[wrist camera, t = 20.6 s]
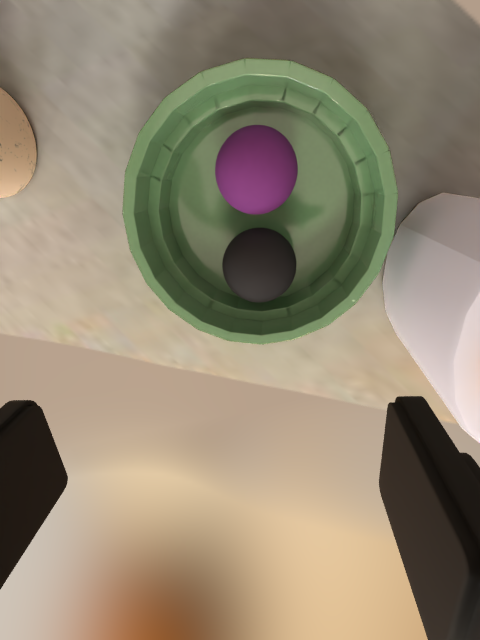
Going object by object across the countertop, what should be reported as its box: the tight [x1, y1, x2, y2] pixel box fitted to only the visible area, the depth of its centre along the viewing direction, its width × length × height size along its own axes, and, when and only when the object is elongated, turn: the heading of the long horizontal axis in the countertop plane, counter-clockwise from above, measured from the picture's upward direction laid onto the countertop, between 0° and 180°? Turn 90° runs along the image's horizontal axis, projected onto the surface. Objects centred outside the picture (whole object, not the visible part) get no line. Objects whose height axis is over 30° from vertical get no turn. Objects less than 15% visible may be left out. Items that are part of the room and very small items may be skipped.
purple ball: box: [215, 125, 298, 214], centre depth 23 cm, size 6×6×6 cm
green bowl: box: [123, 58, 398, 344], centre depth 25 cm, size 18×18×6 cm
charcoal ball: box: [222, 228, 297, 303], centre depth 26 cm, size 6×6×6 cm
